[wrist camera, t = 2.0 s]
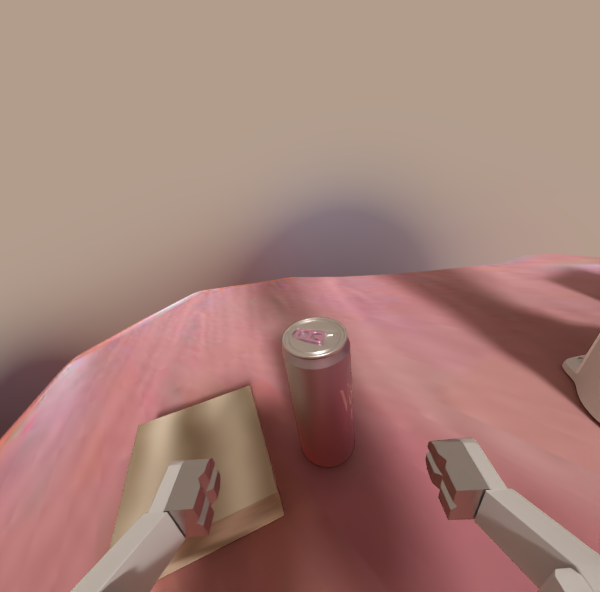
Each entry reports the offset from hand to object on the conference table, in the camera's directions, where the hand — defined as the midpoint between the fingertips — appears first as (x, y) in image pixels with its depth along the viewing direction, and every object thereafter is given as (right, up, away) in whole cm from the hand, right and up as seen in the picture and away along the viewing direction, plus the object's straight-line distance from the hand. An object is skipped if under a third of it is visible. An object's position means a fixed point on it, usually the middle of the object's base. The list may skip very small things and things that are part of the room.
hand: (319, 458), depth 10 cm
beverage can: (+2, -11, +19) cm, 22 cm away
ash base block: (-10, -13, +17) cm, 24 cm away
